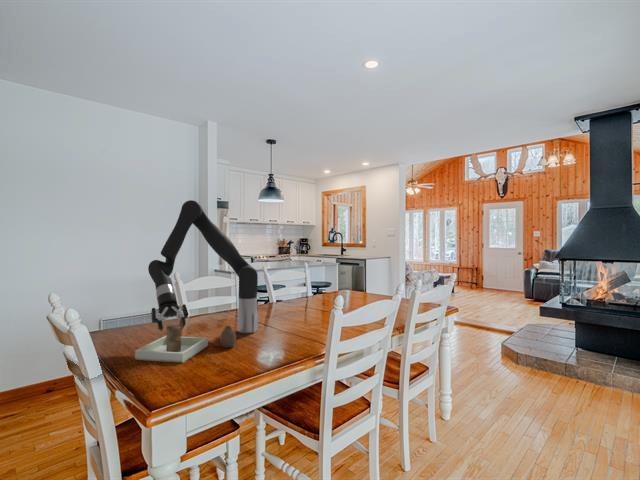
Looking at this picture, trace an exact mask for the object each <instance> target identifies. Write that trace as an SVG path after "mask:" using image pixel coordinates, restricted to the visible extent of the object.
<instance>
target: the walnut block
mask: <svg viewBox="0 0 640 480" xmlns="http://www.w3.org/2000/svg"><path fill="white" fill-rule="evenodd" d="M166 336H167V340H166V350H167V352H180V351H181V337H182V326H180V325H179V324H174V325H169V326H166Z"/></svg>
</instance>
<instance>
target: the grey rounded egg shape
mask: <svg viewBox="0 0 640 480" xmlns="http://www.w3.org/2000/svg"><path fill="white" fill-rule="evenodd" d="M236 341H237V335H236V332H235V330H234V329H233V328H232V326H231V325H226V326H225V327H224V329H223V330H222V331H221V333H220V336H219V343H220V345H221V347H223V348H226V349H229V348H232V347H233V346H234V345H235V344H236Z"/></svg>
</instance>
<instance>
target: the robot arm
mask: <svg viewBox="0 0 640 480" xmlns="http://www.w3.org/2000/svg"><path fill="white" fill-rule="evenodd" d="M175 223H176V224H175V225H174V227H173V228H172V231H171V233H170V234H169V236H168V238H167V240H166V241H165V243H164V245H163V247H162V249H161V251H160V255H161V256H162V257H164V258H165V261H161V260H159V259H154V260H152V261H151V262H150V263H149V264H148V267H147V268H148V273H149V275H150V276H149V277H150V278H151V279H152V282H153V283H154V285H155V291H156V295H155V296H156V300H157V304H158V308H155V307H152V308H151V312H150V314H151V315H150V316H151V323H152V324H156V325H157V329H158V330H159V331H160V332H163V329H164V326H163V320H164V318H172V317H173V318H174V317H175V318H177V319H179V320H180V325H181V326H180V327H181V329H182V328H184V327H185V326H186V319H188V316H189V311H188V308H187V305H186V304H182V305H179V304H178V301H177V297H176V291H175V289H174V287H173V282H172V278H171V277H170V276H171V274H173V272H174V266H175V262H176V258H177V255H178V254H179V252H180V250H181V249H182V245H183V243H184V241H185V239H186V237H187V234H188V232H189V230H190V228H191V226H192V225H194V226H195V227H196V228H197V229H198V231H199V232H200V233H201V235H202V237H203V238H204V239H205V240H206V242H207V244H208V245H209V246H210V248H212V250H213V251H214V252H215V253H216V254H217V256H219V257H220V258H221V259H222V260H223V261H224V262H226V263H227V264H228V265H229V266H230V267H231V268H232V269H233V271H234V272H235V274H236V275H237V277H238V299H237V301H238V302H237V303H238V304H237V305H238V313H237V315H238V316H237V317H238V318H237V319H238V320H237V324H238V325H237V326H238V327H237V328H238V329H237V332H239V334H240V333H241V334H254V333H256V332H257V331H258V330H259V311H257V309H258V304H257V303H258V288H259V287H258V282H259V281H258V280H259V276H258V271H257V270H256V268H254V267H253V266H252V265H251V264H249V262H248V261H247V260H245V259H244V257H243V256H242V255H241V253H239V251H238V249H237V247H236V246H235V245H234V243H233V242H232V241H231V240H230V238H229V237H228V236H227V235H226V233H224V231H222V229H220V228H219V227H218V226H217V225H216V224H215V223H213V221H212V220H211V219H210V218H209V216H208V215H207V213H206V212H205V211H204V209H203V208H202V205H200V203H199V202H197V201H196V200H187V201H185V202H183V203H182V205H181V209H180V212H179V215H178V219H177V220H176V222H175ZM158 313H159V316H158V318H157V316H156V315H158Z"/></svg>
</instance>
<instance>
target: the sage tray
mask: <svg viewBox="0 0 640 480" xmlns="http://www.w3.org/2000/svg"><path fill="white" fill-rule="evenodd" d="M166 340H167V335H164V336H163V337H160V338H158V339H156V340H154V341H152V342H150V343H148V344H146V345H144V346H141V347H139V348H138V349H136V350H134V353H135V354H134V360H137V361H150V362H152V361H153V362H163V363H164V362H165V363H166V362H167V363H180V364H182V363H185V362H186V361H188V360H190V359H191V358H192V357H194V356H195V355H196V354H199V352H201V351H203V350H204V349H205V348H207V347H209V345H208V344H209V342H208V341H209V338H208V337H196V336H195V337H194V336H181V351H180V352H167V350H166Z"/></svg>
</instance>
